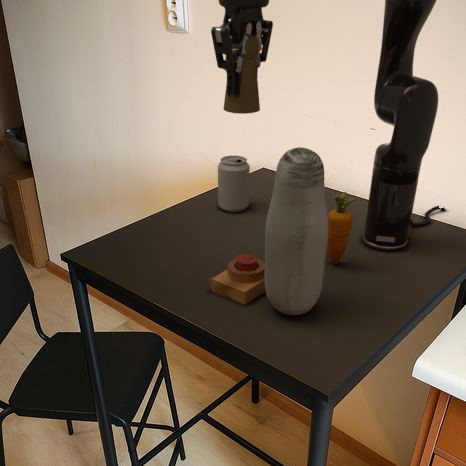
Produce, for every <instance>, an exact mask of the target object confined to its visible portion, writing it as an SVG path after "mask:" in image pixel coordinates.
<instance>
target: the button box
mask: <svg viewBox="0 0 466 466" xmlns="http://www.w3.org/2000/svg"><path fill="white" fill-rule="evenodd" d="M210 280H211V281H210V282H211V292H213V293H215V294H217V295H220V296H222V297H225V298H227V299H230V300H232V301H235V302H237V303H240V304H242V305H247V304H249V303H250V302H252V301H253V300H255V299H256V298H258V297H259V296H261V295H262V294H264V293H266V291H265V261H263V260H262V259H259V258H257V269H256V270H253V271H240V270H238V269H236V258H233V259H232V260H229V262H228V264H227V269H225V270H223V271H222V272H220V273H218V274H217V275H215V276H213V277H211V279H210Z"/></svg>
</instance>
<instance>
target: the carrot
mask: <svg viewBox="0 0 466 466" xmlns="http://www.w3.org/2000/svg"><path fill="white" fill-rule="evenodd" d="M346 198H347V191H343V192H342V193H341V194H340V195H339V194H338V195H336V196H334V200H335V203H336V205H337V206H336V207H337V208H334V209H332V210H331V211H330V212H329V213H327V214H328V242H327V253H328V256H329V259H330V261H331V263H332V264H333V265H334V266H336V265H337V264H339V262H340V261H341V259H342V258H343V256H344V254H345V252H346V249H347V247H348V244H349V242H350V238H351V233H352V227H353V220H354V215H353V213H352V212H351V211H349V210H348V209H347V207H348V206H349V205H350V204H351V203H353V202H355V201H356V198H354V197H352V198H350V199H348V200H347V201H346Z"/></svg>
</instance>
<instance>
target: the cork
mask: <svg viewBox="0 0 466 466" xmlns="http://www.w3.org/2000/svg"><path fill="white" fill-rule="evenodd" d="M231 44H232V49H239V48H240V45H241V43H240V44H236V43H231ZM259 48H260V44H259V40H258V38H257V37H256V36H255V35H252V34H251V35H250V36H249V38H248V40H247V42H246V46H245V53H246V55H245V56H244V57H243V61H242V68H241V72H240V73H241V84H240V95H239V97H238V98H235V95H230V97H228V95H227V83H225V85H226V87H225V94H224V100H223V101H224V102H223V111H224V112H227V113H232V114H240V115H244V114H245V115H246V114H254V113H258V112H260V111H261V105H260V94H259V93H260V92H259V83H258V82H259V80H258V77H257V69H256V56H257V55H258V53H259ZM233 56H234V62H236V55H233Z"/></svg>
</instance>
